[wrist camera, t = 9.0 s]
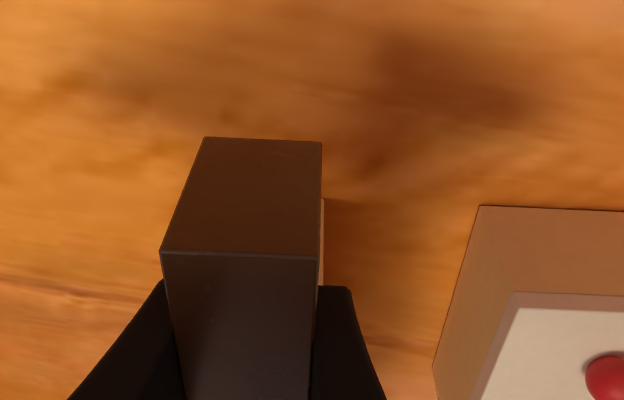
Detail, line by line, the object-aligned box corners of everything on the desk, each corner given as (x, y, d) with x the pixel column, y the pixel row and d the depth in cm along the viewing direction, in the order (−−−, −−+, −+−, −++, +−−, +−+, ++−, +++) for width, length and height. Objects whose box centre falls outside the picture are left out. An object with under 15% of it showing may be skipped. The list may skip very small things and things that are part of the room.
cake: (554, 372, 25) (612, 515, 20) (431, 367, 25) (457, 509, 20) (640, 212, 19) (754, 358, 14) (479, 204, 19) (533, 348, 14)
